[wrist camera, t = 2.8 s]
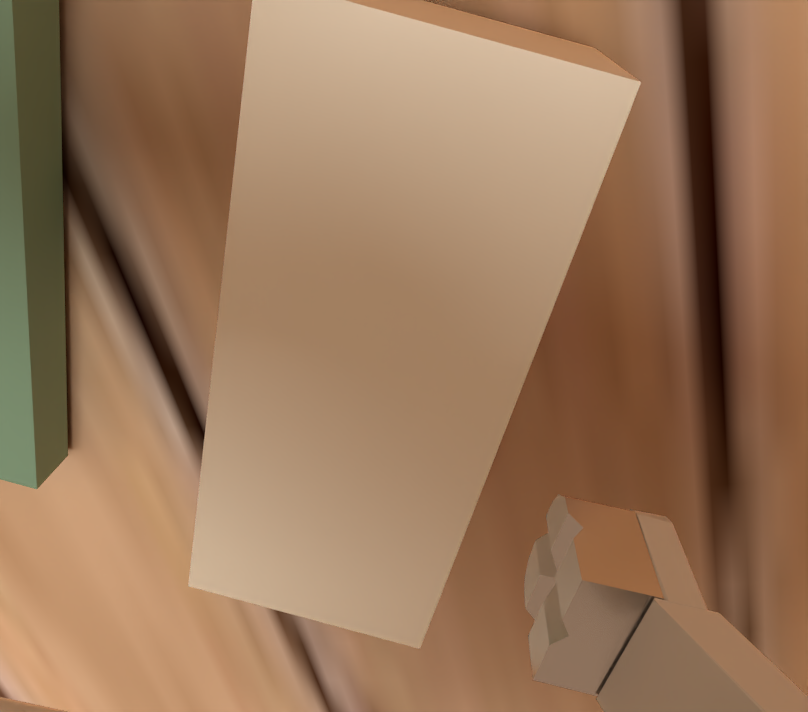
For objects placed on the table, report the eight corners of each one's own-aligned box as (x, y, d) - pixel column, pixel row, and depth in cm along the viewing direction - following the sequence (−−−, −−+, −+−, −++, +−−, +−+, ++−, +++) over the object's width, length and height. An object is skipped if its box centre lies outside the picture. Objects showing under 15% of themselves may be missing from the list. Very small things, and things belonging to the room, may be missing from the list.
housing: (594, 47, 13) (640, 81, 8) (439, 492, 18) (420, 648, 14) (339, -24, 13) (255, -25, 8) (262, 443, 18) (188, 586, 14)
